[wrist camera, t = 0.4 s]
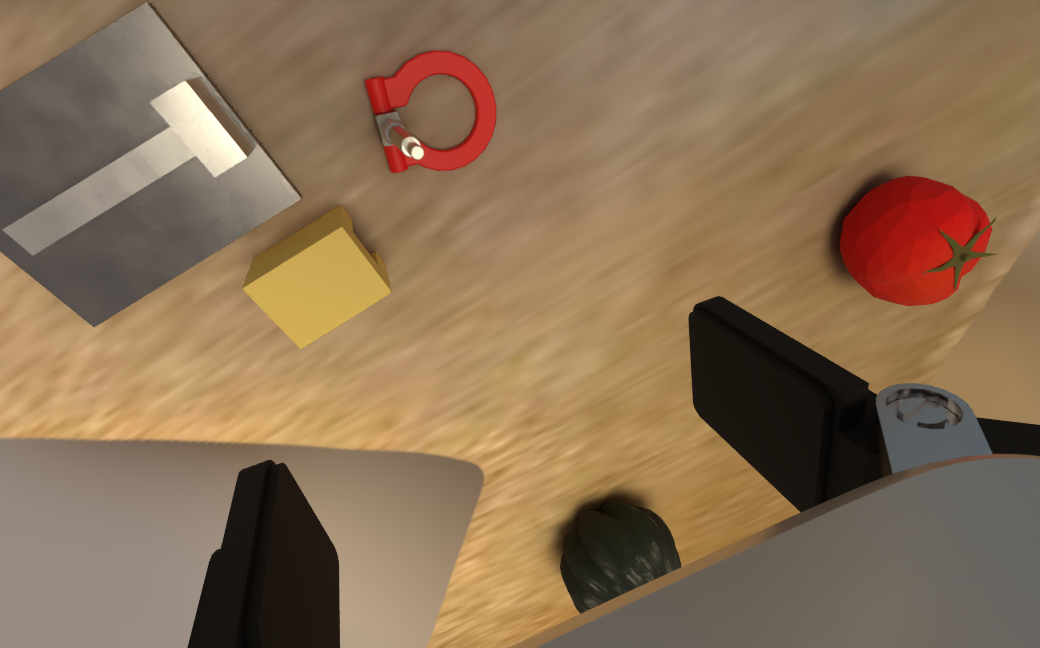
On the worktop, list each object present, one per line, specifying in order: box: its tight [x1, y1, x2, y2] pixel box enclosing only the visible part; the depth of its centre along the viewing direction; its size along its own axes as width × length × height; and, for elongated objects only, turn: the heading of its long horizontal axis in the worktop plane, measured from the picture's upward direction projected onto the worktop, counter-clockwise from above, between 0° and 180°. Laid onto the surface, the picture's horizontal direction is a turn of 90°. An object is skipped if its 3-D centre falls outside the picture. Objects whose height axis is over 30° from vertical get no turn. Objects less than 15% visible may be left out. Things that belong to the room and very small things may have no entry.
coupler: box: [0, 2, 302, 327], centre depth 33 cm, size 14×18×5 cm
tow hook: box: [364, 51, 496, 173], centre depth 35 cm, size 8×13×9 cm
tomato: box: [840, 176, 997, 306], centre depth 54 cm, size 12×13×12 cm
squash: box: [560, 501, 681, 614], centre depth 64 cm, size 14×15×15 cm
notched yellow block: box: [242, 205, 392, 349], centre depth 40 cm, size 6×8×6 cm
